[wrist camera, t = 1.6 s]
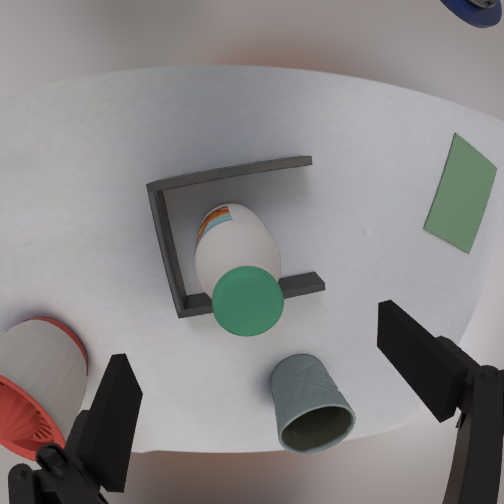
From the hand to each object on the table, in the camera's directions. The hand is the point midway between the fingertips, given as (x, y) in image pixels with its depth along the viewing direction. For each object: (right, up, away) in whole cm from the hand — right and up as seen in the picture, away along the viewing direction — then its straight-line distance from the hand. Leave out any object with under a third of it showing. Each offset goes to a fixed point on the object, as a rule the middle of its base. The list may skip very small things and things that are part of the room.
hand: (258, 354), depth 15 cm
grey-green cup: (+7, -14, +31) cm, 35 cm away
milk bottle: (-3, +7, +24) cm, 25 cm away
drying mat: (+33, +14, +26) cm, 45 cm away
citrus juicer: (-31, -10, +25) cm, 42 cm away
